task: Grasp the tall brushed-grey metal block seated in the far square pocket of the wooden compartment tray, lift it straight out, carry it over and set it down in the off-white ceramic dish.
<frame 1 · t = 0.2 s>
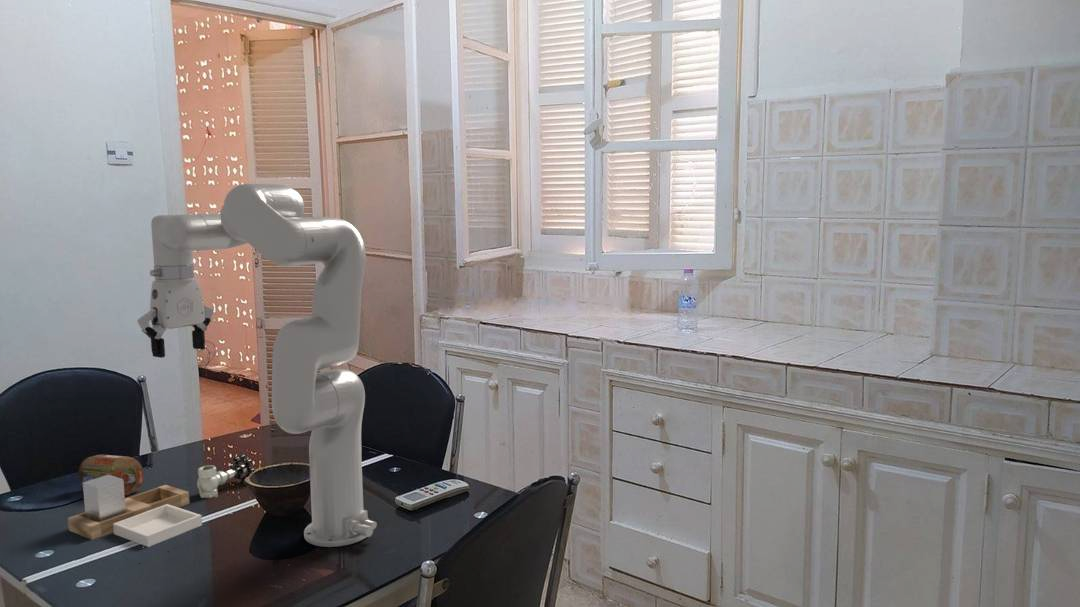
hand: (179, 352, 162), 31 cm above the table, fingers open, 9 cm apart
gray rectangular block: (106, 525, 147), resting on wooden compartment tray
tin: (113, 494, 165), on the table
dish: (158, 531, 145), on the table
valve: (223, 492, 166), on the table
wooden compartment tray: (131, 518, 151), on the table
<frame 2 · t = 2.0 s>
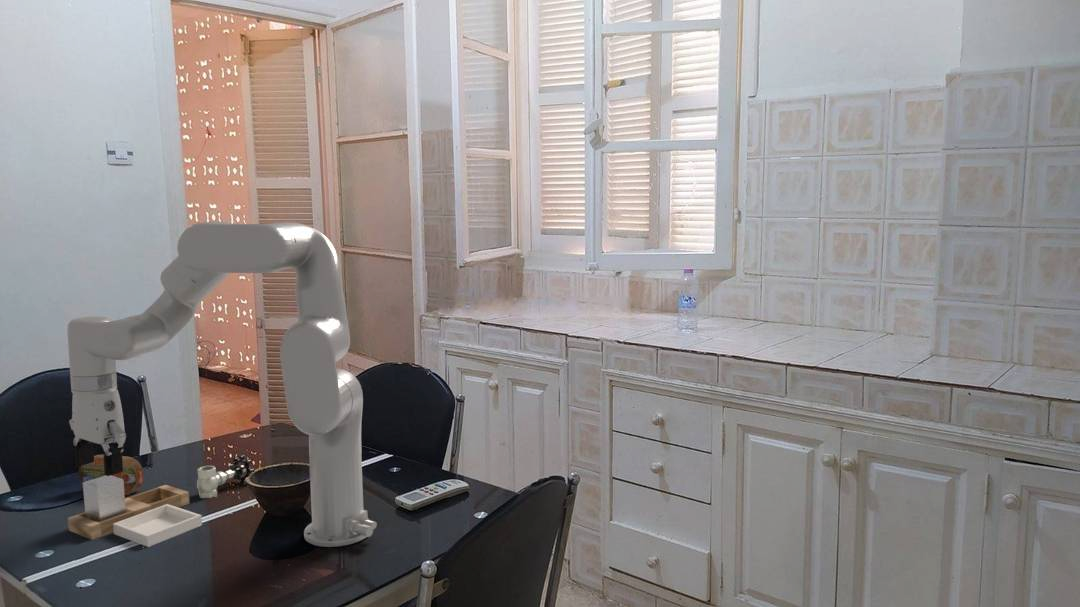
hand: (99, 468, 146), 12 cm above the table, fingers open, 9 cm apart
nothing on the table moved.
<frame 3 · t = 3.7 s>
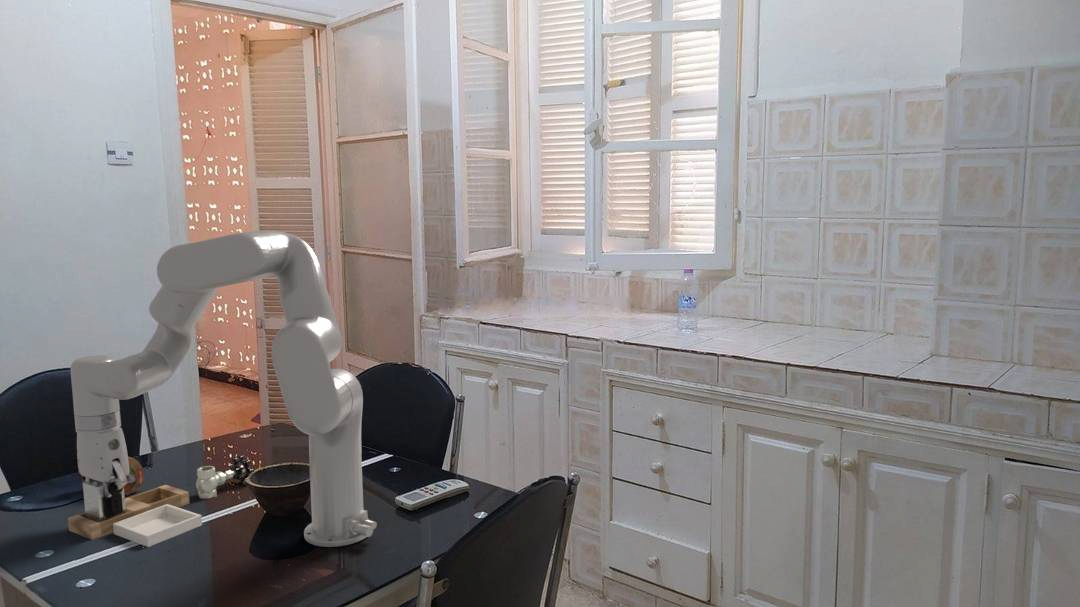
hand: (105, 510, 147), 3 cm above the table, fingers closed on gray rectangular block, 5 cm apart
gray rectangular block: (106, 525, 147), point 1 cm above the table, touching gripper, wooden compartment tray
everything else where it was.
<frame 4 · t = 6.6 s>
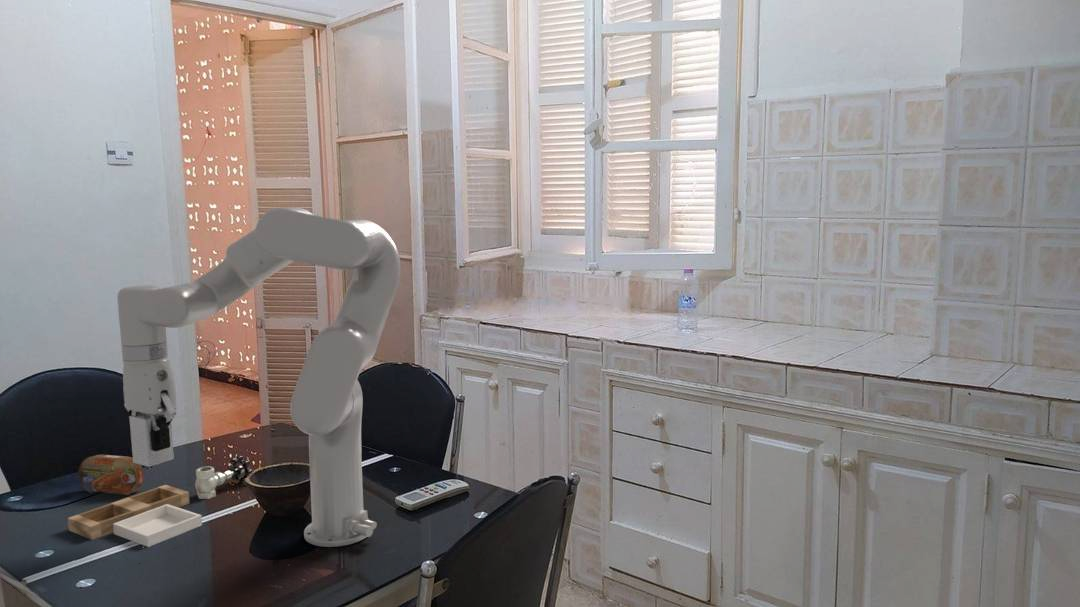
hand: (152, 445, 143), 17 cm above the table, fingers closed on gray rectangular block, 5 cm apart
gray rectangular block: (153, 460, 143), point 14 cm above the table, touching gripper
everything else where it was.
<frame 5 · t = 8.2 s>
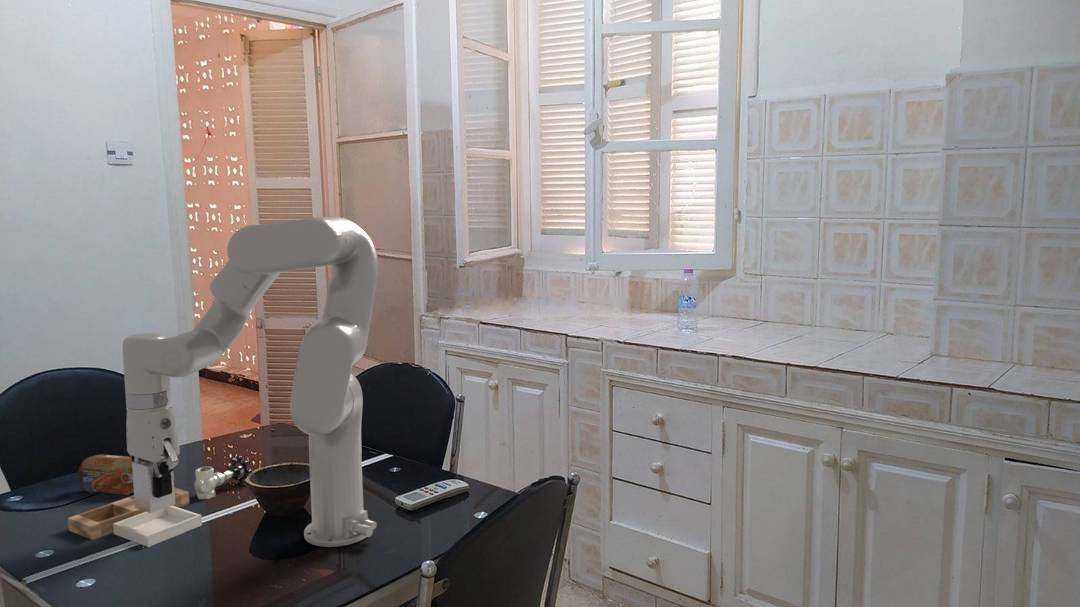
hand: (154, 491, 144), 8 cm above the table, fingers closed on gray rectangular block, 5 cm apart
gray rectangular block: (155, 506, 144), point 5 cm above the table, touching gripper
everything else where it was.
when the fingers open (5 cm above the table, at t = 9.7 s): gray rectangular block drops 1 cm, resting on dish.
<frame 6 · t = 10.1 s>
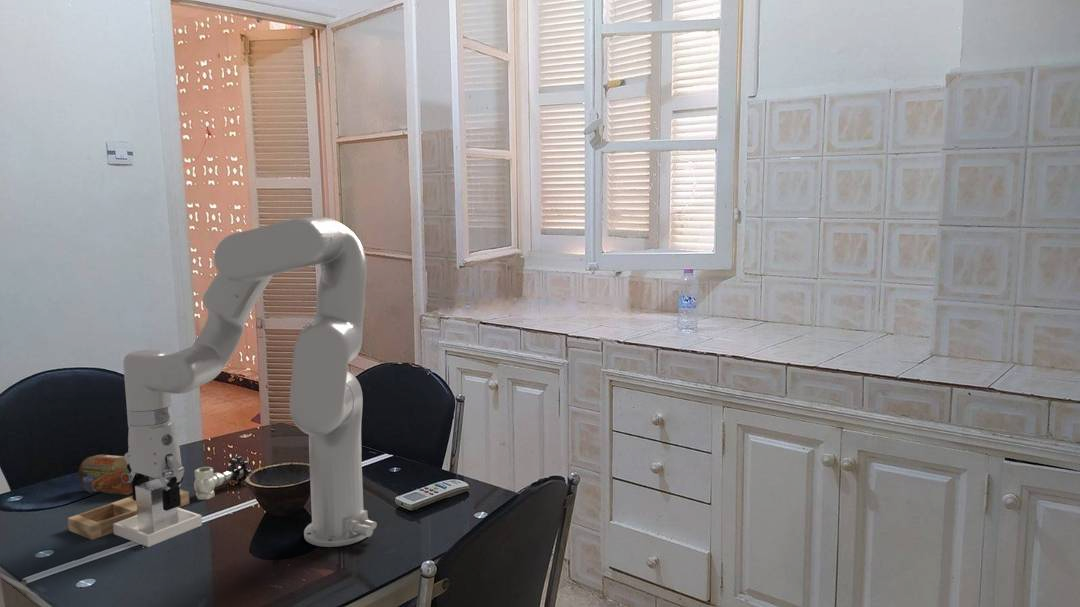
hand: (156, 503, 144), 6 cm above the table, fingers open, 9 cm apart
gray rectangular block: (158, 529, 145), resting on dish
everything else where it was.
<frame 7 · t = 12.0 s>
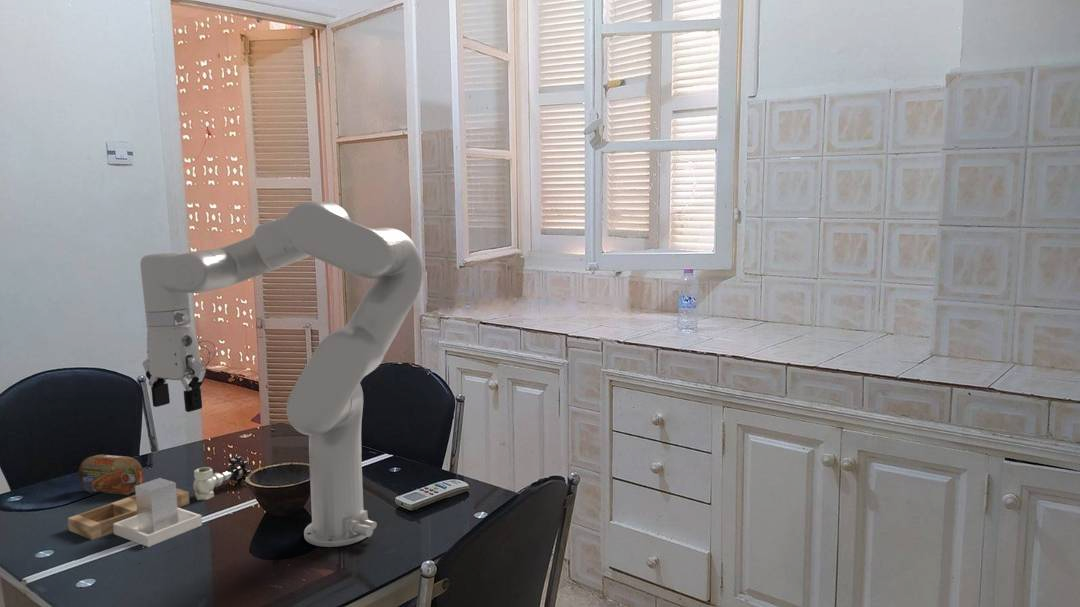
hand: (177, 407, 144), 24 cm above the table, fingers open, 9 cm apart
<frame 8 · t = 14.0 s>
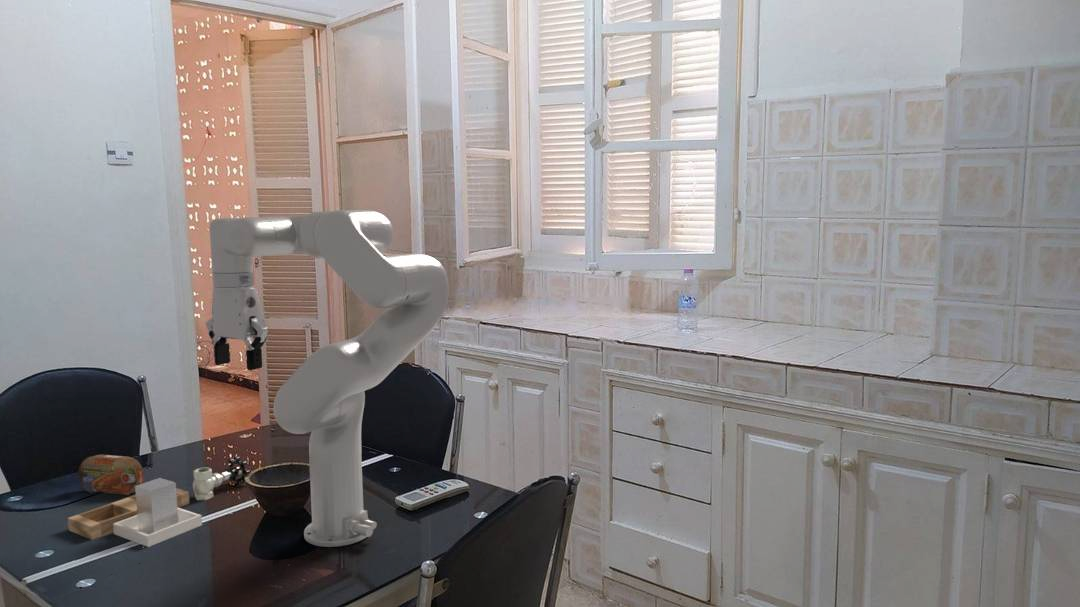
hand: (238, 366, 151), 30 cm above the table, fingers open, 9 cm apart
at the end: gray rectangular block inside the target area on the dish (0.0 cm from its centre), point 0.5 cm above the dish's base; gray rectangular block touching dish; the gripper is holding nothing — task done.
